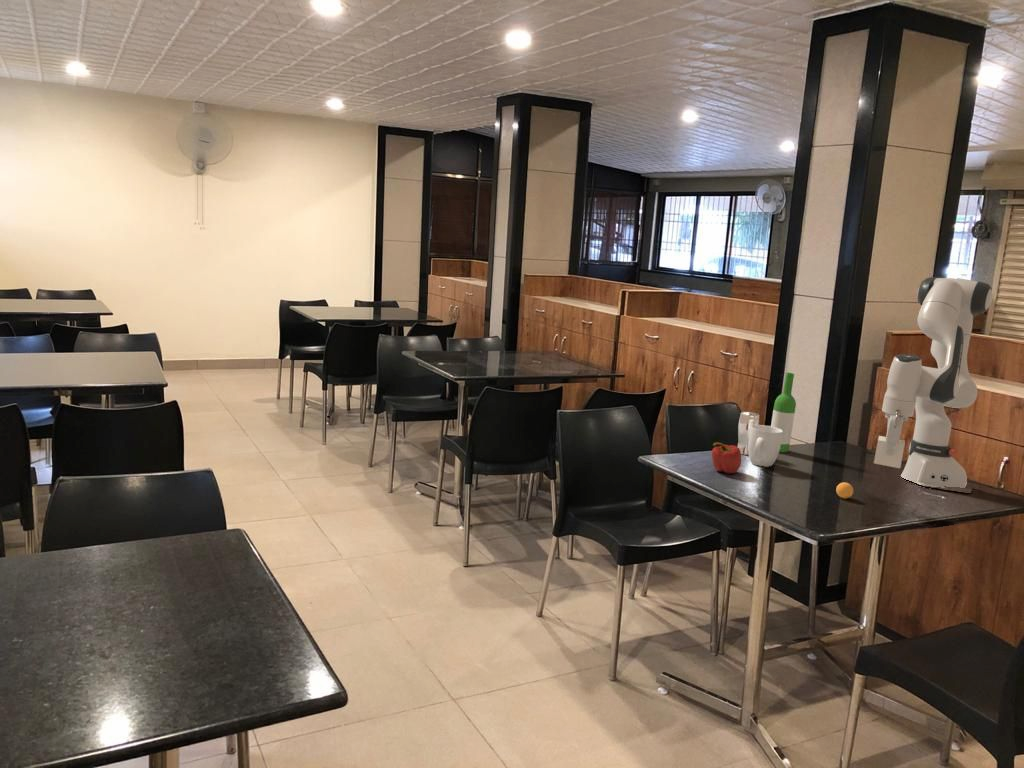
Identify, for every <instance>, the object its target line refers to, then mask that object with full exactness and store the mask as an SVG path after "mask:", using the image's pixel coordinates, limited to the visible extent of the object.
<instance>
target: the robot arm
mask: <svg viewBox="0 0 1024 768" xmlns="http://www.w3.org/2000/svg"><path fill="white" fill-rule="evenodd" d="M916 293H917V302H918V304H919V305H920V306H921V307H919V308H920V309H919V312H918V315H917V319H916V323H917V326H918V327H919V329H920V331H921V332H922V333H923V334H924V335H925V336H926V337H928V339H931V340H932V341H931V346H930V355H931V356H932V357H933V358H934V359H935V361H936V363H937V368H936V367H930V366H925V365H922V364H923V361H922V358H921V357H920V356H917V355H915V354H911V353H900V354H897V355H895V356H894V357H893V360H892V362H891V364H890V368H889V371H888V376H887V381H886V384H887V386H886V387H887V388H886V391H885V393H884V396H883V402H882V406H881V411H882V412H883V413H885V414H884V418H887V428H886V429H887V430H886V435H885V437H886V442H888V447H887V453H886V454H887V455H890V456H892V455H893V452H894V448H895V445H896V444H898V443H899V440H901V435H902V429H903V424H904V422H908V421H909V418H910V417H914V415H915V425H914V429H913V435H912V436H913V437H912V438H911V440H910V443H909V448H908V458H907V461H906V463H905V466H904V469H903V470H902V473H901V474H900V476H901V477H902V478H904V479H906V480H909V481H912V482H914V483H917V484H919V485H923V486H931V487H941V488H945V487H944V486H946V487H960V488H965V487H966V485H967V483H968V482H967V481H968V477H967V472H966V470H965V468H964V467H963V466H962V465H961V464H960V463H959V462H958V461H957V460H956V459H955V458H954V457H953V456H955V455H956V450H955V449H954V447H952V446H950V445H949V441H950V436H951V431H952V427H953V426H952V421H951V419H950V418H949V416H947V413H946V411H945V407H948V408H953V409H954V408H955V409H967V408H969V407H971V406H972V405H973V404H974V403H975V402H976V400H977V398H978V394H979V393H978V387H977V386H978V385H976V383H975V382H974V380H973V378H972V377H971V375H970V372H969V367H968V352H969V346H970V340H971V335H972V331H973V324H974V323H973V321H974V318H976V317H977V316H978V315H982V314H983V313H985V312H986V311H988V309H989V308H990V307H991V305H992V302H993V298H994V295H993V288H992V286H991V285H990V284H989V283H986V282H983V281H980V280H979V281H975V280H971V279H965V278H953V277H951V278H950V277H945V278H944V277H937V276H934V277H926V278H924V279H923V280H922V281H921V282H920V284H919V287H918V289H917V292H916ZM901 477H900V478H901ZM902 478H901V479H902ZM904 479H903V480H904ZM906 480H905V481H906ZM909 481H908V482H909ZM914 483H913V484H914Z"/></svg>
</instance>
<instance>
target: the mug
mask: <svg viewBox="0 0 1024 768" xmlns="http://www.w3.org/2000/svg"><path fill="white" fill-rule="evenodd" d="M782 434H783V431H782V430H781V429H778V428H775V427H771V425H763V424H758V425H752V426H751V428H750V434H749V442H748V452H749V455H748V456H749V461H750V462H751V464H752V463H753V464H752V465H754V464H755V466H757V465H759V466H758V467H761V466H764V467H763V468H770V467H772V465H774V464H775V462H776V461H777V458H778V456H779V453H780V452H779V450H780V446H781V440H782ZM769 466H770V467H769Z"/></svg>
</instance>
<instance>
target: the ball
mask: <svg viewBox="0 0 1024 768" xmlns="http://www.w3.org/2000/svg"><path fill="white" fill-rule="evenodd" d="M835 490H836V491H835V492H836V495H837V496H839V498H842V499H849V498H851V497H852V496H853V494H854V487H853V486H852V484H850V483H848V482H840V483H839V484H838V485H836V489H835Z"/></svg>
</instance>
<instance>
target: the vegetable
mask: <svg viewBox="0 0 1024 768" xmlns="http://www.w3.org/2000/svg"><path fill="white" fill-rule="evenodd" d="M712 446H713V448H712V451H711V457H712V464H713V467H714V468H715V470H716V471H718V472H720V473H721V472H722V473H723V472H724V473H725V474H735V473H737V472H738V471H739V469H740V468H741V466H742V465H741V464H742V454H741V452H740V449H739V448H738V447H737V446H738V445H734V444H733V445H732V444H731V445H728V444H723V443H722V442H718V441H717V442H714V443H713V444H712Z"/></svg>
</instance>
